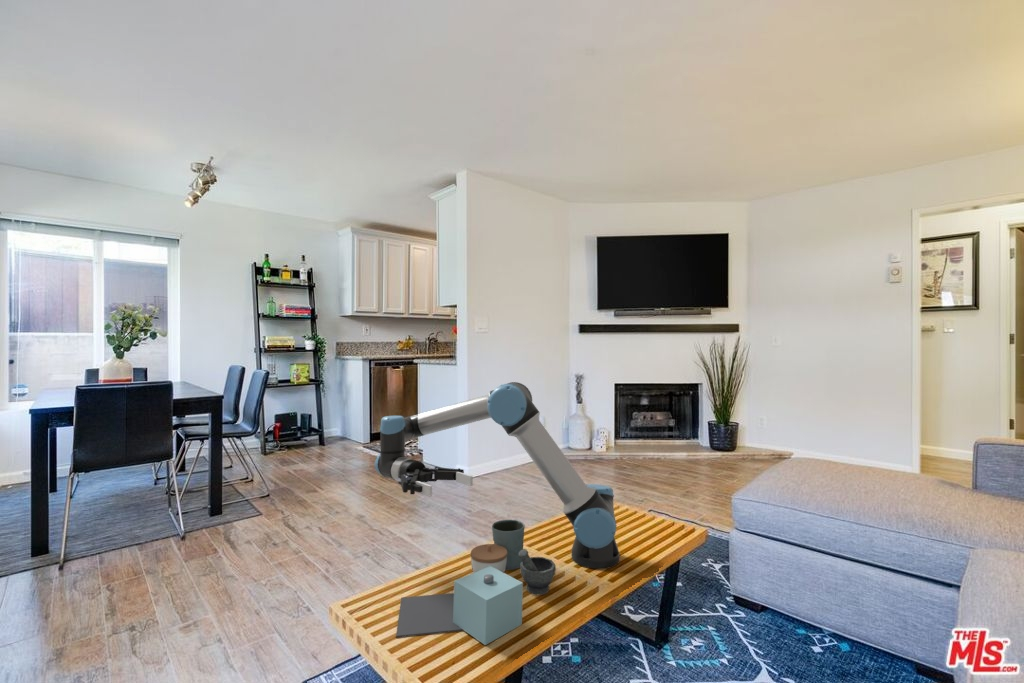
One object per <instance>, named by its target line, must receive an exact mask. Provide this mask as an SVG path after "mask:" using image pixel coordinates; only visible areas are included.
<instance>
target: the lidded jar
mask: <svg viewBox="0 0 1024 683" xmlns="http://www.w3.org/2000/svg"><path fill="white" fill-rule="evenodd" d="M470 564H471V568H472V571H473V572H472V573H474V572H477V571H479V570H482V569H484V568H487V567H489V566H491V567H493V568H495V569H497V570H499V571H501V572H503V573H505V571H506V570H505V569H506V564H507V550H506V548H504V547H503V546H500V545H495V544H494V543H493V544H492V543H488V544H487V543H486V544H480V545H477V546H475V547H473V548H472V549H471V551H470Z"/></svg>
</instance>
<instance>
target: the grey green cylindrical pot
mask: <svg viewBox="0 0 1024 683" xmlns="http://www.w3.org/2000/svg"><path fill="white" fill-rule="evenodd" d="M491 531H492V540H493V544H495V545H500V546H503V547H504V548H506V550H507V564H506V569H505V571H511V570H517V569H520V564H521V562H522V560H521V558H520V557H519V556H518V554H519V552H520V551H521V550H523V549H524V539H525V523H524V522H522V521H520V520H517V519H500V520H498V521H495V522H494V523H492V525H491Z"/></svg>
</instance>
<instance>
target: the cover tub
mask: <svg viewBox="0 0 1024 683" xmlns="http://www.w3.org/2000/svg"><path fill="white" fill-rule="evenodd" d="M523 591H524V583H523V582H522V581H520V580H518V579H516V578H515V577H513V576H510V575H508V574H507V573H505V572H504V573H503V572H501V571H499V570H497V569H495V568H493V567H491V566H489V567H487V568H484V569H482V570H479V571H477V572H472V573H469V574H467V575H465V576H463V577H460V578H458V579H455V580H454V582H453V593H454V606H453V623H454V624H456V625H457V626H459V627H460V628H461V629H463V630H464V631H465V633H467V634H469V635H470V636H471V637H472V638H475V639H476V640H477V641H478V642H480V643H481V644H483V645H484V646H486V645H488V644H491V643H492V642H493V641H496V640H497V639H499V638H501V637H502V636H504V635H506V634H508V633H511V631H513V630H514V629H516V628H519V627H520V626H522V624H523V596H524V594H523V593H524V592H523ZM464 631H463V632H464Z"/></svg>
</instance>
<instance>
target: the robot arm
mask: <svg viewBox="0 0 1024 683" xmlns="http://www.w3.org/2000/svg"><path fill="white" fill-rule="evenodd" d="M540 413H541V412H540V411H539V410H538V408H537V407H536V405H535V404H534V403H533V395H532V392H531V391H530V389H529V388H528V387H527V386H526V385H524V384H523V383H521V382H518V381H517V382H516V381H515V382H514V381H513V382H512V381H511V382H508V383H504V384H501V385H498V386H497V387H496V388H495V389H494V390H490V391H489V392H488V393H487V394H486V395H482V396H479V397H476V398H472V399H468V400H465V401H460V402H457V403H453V404H449V405H447V406H442V407H438V408H435V409H432V410H429V411H425V412H420V413H418V414H414V415H409V416H406V417H405V416H403V415H386V416H383V417H382V418H381V420H380V427H379V428H380V429H379V431H380V433H379V434H380V452H379V454H378V455H377V456H376V459H375V461H374V469H375V471H376V472H377V474H378V475H381V476H382V477H383V478H385V479H390V480H394V481H395V482H398V483H397V484H399V485H400V486H401V490H402V492H403V493H404V494H405V493H408V491H409V492H410V495H415V494H416V493H418V494H421V495H424V496H426V497H429V498H431V497H433V485H431V484H428V482H434V483H435V482H437V481H455V482H456V483H458V484H463V485H465V486H469V487H473V484H474V481H473V477H474V476H473V475H471V474H467V473H465V470H464V469H461V468H451V467H450V468H447V467H441V466H435V467H434V468H429V467H426V466H425V464H424V462H422V461H420V460H417V459H413V458H411V457H406V454H405V453H406V452H405V451H406V442H407V441H409V440H413V439H416V438H420V437H423V436H426V435H429V434H434V433H438V432H441V431H446V430H449V429H453V428H457V427H460V426H464V425H468V424H472V423H475V422H480V421H483V420H488V419H492V420H493V421H494V422H495V423H496V424H498V425H499V426H501V427H502V429H503V430H504V431H505V432H506V434H507V435H508V436H510V437H513V438H514V437H515V438H516V439H517V440H518V442H519V443H520V444H521V446H522V447H523V449H524V450H525V452H526V454H528V456H529V457H530V458H531V460H532V462H533V463H534V464H535V465H536V467H537V468H538V470H539V471H540V473H541V474H542V476H543V477H544V478H545V480H546V482H548V484H549V485H550V487H551V488H552V490H553V491H554V492H555V494H556V495H557V496H558V498H559V500H561V502H562V503H563V509H562V510H563V511H562V512H563V514H564V515H565V517H566V518H567V519H568V521H569V522H570V523H571V525H572V526H573V531H574V534H575V538H574V541H573V544H572V546H571V560H572V561H573V562H574V563H576V564H577V565H579V566H581V567H583V568H584V567H585V568H589V569H596V570H603V569H604V570H605V569H610V568H613V567H616V566H617V565H618V564H620V561H621V559H620V551H619V547H618V545H617V542H616V541H617V540H616V538H615V535H616V532H617V521H616V516H615V509H614V505H615V504H614V498H615V495H614V490H613V488H612V487H611V486H608V485H604V484H594V483H593V484H589V483H588V484H586V483H585V481H584V480H583V479H582V477H581V476H580V474H579V473H578V471H577V470H576V469H575V467H574V466H573V465H572V463H571V462H570V461H569V459H568V458H567V456H566V455H565V454H564V452H563V451H562V449H561V448H560V447H559V445H558V444H557V442H556V441H555V440H554V439H553V437H552V436H551V435H550V432H548V430H547V429H546V428H545V426H544V424H542V422H541V420H540ZM433 475H434V476H433ZM415 492H416V493H415Z"/></svg>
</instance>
